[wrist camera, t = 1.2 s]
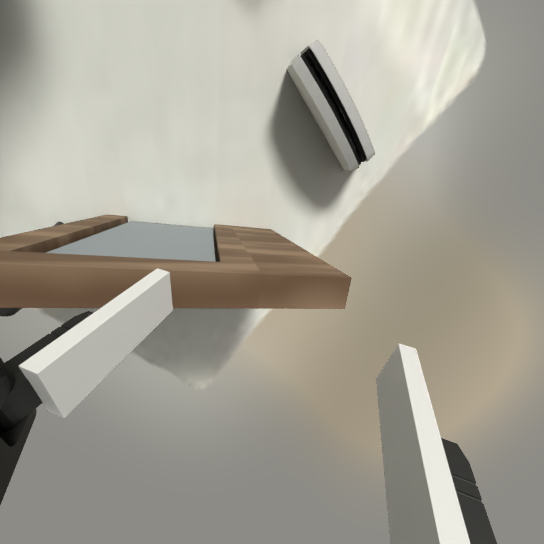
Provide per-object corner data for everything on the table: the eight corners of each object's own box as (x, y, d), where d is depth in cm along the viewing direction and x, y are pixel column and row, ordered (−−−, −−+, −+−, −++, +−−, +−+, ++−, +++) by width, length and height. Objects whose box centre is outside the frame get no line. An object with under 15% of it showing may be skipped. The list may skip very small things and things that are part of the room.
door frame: (107, 214, 34) (-100, 259, 11) (271, 229, 40) (351, 277, 17) (108, 231, 34) (-85, 307, 12) (269, 243, 41) (344, 308, 18)
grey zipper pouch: (368, 151, 40) (392, 157, 31) (342, 170, 41) (358, 180, 33) (313, 42, 34) (324, 12, 25) (285, 69, 35) (286, 49, 26)
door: (132, 239, 35) (36, 297, 16) (131, 221, 34) (30, 258, 15) (211, 245, 38) (213, 299, 18) (212, 228, 37) (215, 266, 18)
